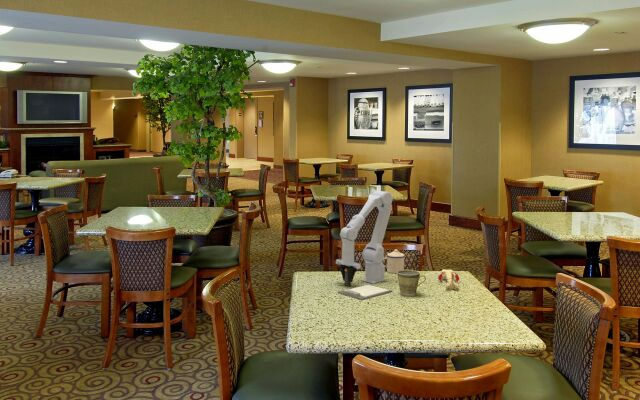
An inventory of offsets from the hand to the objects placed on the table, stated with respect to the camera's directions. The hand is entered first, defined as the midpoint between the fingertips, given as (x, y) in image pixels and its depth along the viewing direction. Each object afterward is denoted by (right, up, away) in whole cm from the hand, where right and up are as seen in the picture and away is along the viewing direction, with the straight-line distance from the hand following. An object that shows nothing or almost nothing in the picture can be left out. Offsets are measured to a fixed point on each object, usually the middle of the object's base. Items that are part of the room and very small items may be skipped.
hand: (347, 281), depth 282 cm
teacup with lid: (+25, +1, +28) cm, 37 cm away
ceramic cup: (+28, -4, -15) cm, 32 cm away
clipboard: (+7, -4, -12) cm, 14 cm away
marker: (0, -2, 0) cm, 2 cm away
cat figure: (+49, -2, +4) cm, 49 cm away
